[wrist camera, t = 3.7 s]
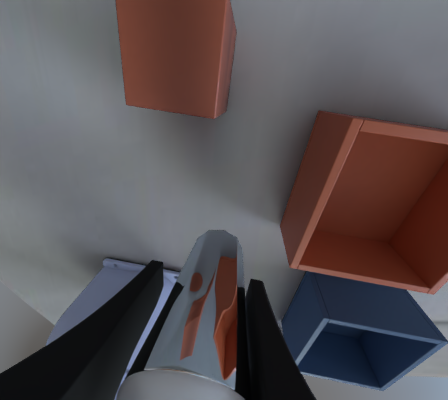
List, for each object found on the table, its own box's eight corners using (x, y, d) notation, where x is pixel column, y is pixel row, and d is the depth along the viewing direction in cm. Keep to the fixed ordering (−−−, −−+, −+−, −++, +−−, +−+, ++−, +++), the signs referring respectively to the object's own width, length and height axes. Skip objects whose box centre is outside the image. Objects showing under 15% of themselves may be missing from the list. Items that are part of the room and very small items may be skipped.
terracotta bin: (279, 225, 17) (289, 268, 13) (318, 110, 13) (353, 117, 9) (387, 244, 17) (433, 295, 13) (467, 133, 12) (581, 152, 8)
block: (165, 102, 14) (125, 105, 9) (164, 20, 12) (112, -26, 7) (226, 111, 14) (215, 119, 9) (236, 30, 11) (228, -11, 7)
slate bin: (281, 322, 24) (288, 371, 20) (307, 268, 19) (323, 317, 15) (359, 337, 24) (383, 391, 19) (404, 286, 19) (449, 342, 15)
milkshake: (170, 220, 13) (0, 479, 4) (250, 220, 12) (251, 538, 3) (182, 269, 15) (87, 511, 6) (252, 271, 14) (255, 552, 5)
